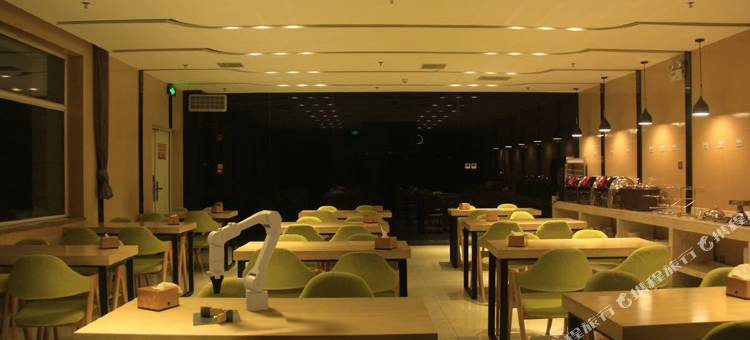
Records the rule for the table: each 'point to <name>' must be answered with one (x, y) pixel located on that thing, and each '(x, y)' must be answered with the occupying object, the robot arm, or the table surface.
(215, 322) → the levelling plate
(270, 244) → the robot arm
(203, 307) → the knob
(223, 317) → the knob
